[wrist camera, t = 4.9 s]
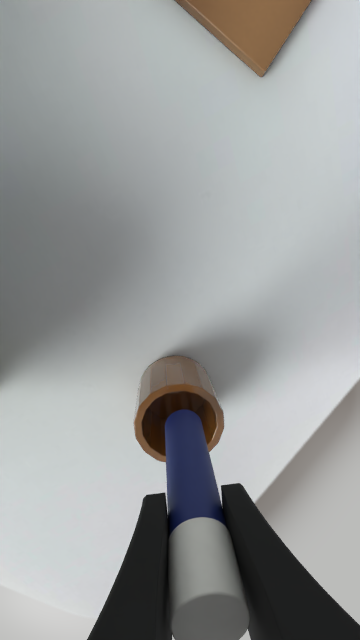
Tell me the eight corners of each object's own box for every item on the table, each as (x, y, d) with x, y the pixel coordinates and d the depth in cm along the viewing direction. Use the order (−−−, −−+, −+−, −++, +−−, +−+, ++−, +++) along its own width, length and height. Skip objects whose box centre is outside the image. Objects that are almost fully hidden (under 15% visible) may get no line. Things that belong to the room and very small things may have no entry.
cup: (208, 351, 19) (221, 379, 15) (212, 417, 20) (226, 458, 16) (134, 359, 19) (129, 389, 15) (142, 425, 20) (139, 469, 16)
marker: (201, 405, 15) (249, 588, 7) (204, 440, 15) (251, 646, 7) (161, 410, 15) (166, 599, 7) (165, 444, 15) (173, 657, 7)
